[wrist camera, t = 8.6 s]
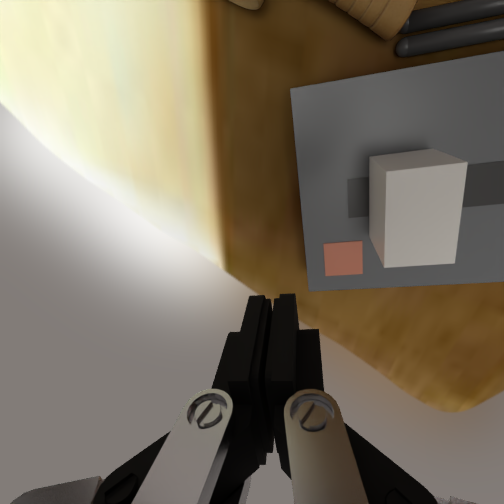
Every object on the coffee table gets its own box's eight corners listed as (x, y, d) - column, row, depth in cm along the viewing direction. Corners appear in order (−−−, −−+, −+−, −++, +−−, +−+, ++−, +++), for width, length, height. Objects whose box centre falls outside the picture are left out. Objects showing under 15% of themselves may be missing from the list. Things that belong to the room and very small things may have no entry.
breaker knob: (432, 148, 21) (467, 161, 16) (425, 231, 23) (454, 263, 19) (369, 156, 22) (386, 171, 17) (369, 236, 24) (384, 267, 20)
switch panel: (741, -57, 18) (852, -96, 14) (626, 248, 26) (678, 273, 22) (287, 38, 23) (284, 27, 20) (308, 269, 31) (308, 291, 28)
